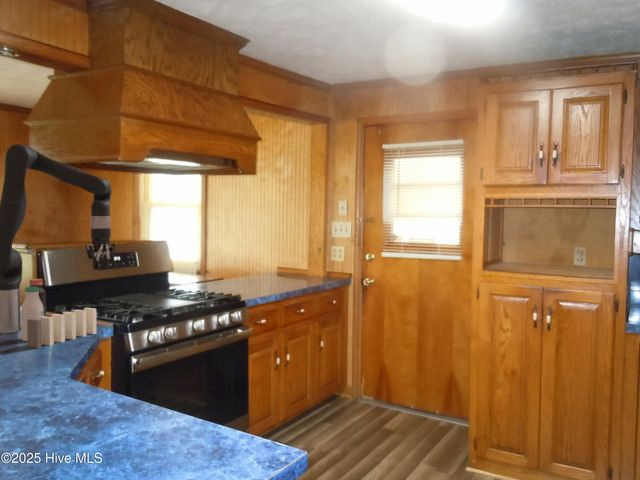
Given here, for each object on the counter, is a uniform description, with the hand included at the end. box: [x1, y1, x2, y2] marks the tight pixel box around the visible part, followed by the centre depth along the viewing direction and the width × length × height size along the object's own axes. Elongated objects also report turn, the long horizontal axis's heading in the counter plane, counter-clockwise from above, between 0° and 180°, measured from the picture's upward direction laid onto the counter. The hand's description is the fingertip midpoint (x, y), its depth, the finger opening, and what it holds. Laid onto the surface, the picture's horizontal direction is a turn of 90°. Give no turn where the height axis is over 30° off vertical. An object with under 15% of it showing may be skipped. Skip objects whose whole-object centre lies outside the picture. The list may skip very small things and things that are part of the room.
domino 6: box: [83, 307, 97, 335], centre depth 212 cm, size 2×5×10 cm, turn 67°
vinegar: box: [28, 278, 47, 317], centre depth 223 cm, size 7×7×20 cm
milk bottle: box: [20, 286, 44, 342], centre depth 201 cm, size 8×8×20 cm
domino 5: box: [72, 309, 87, 338], centre depth 208 cm, size 2×5×10 cm, turn 67°
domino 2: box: [40, 316, 55, 346], centre depth 194 cm, size 2×5×10 cm, turn 66°
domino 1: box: [27, 319, 43, 350], centre depth 189 cm, size 2×5×10 cm, turn 67°
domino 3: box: [50, 313, 66, 343], centre depth 199 cm, size 2×5×10 cm, turn 67°
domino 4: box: [62, 311, 77, 341], centre depth 203 cm, size 2×5×10 cm, turn 67°
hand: (101, 268), depth 217 cm, fingers open, 4 cm apart
